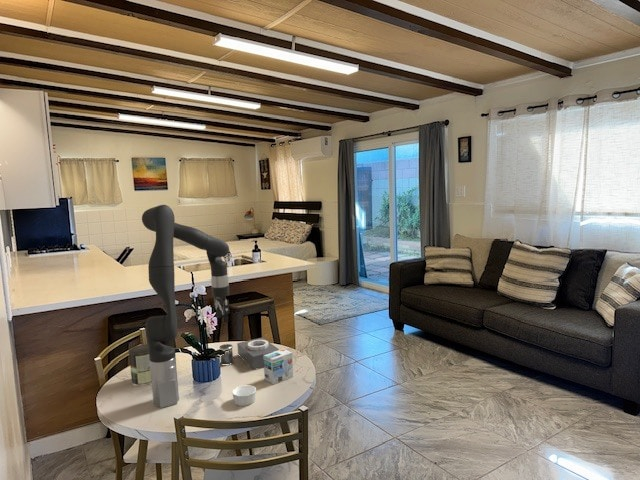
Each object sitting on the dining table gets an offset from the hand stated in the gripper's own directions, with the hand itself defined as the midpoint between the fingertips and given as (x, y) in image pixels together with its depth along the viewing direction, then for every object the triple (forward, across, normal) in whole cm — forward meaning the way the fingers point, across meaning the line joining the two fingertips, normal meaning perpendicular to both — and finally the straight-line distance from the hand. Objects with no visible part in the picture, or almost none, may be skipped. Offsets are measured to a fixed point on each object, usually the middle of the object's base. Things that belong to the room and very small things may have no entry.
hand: (222, 319), depth 196 cm
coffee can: (+21, +2, +34) cm, 40 cm away
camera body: (+20, -5, -14) cm, 26 cm away
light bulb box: (+20, -29, -13) cm, 38 cm away
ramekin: (+20, -39, +6) cm, 44 cm away
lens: (+21, -1, 0) cm, 21 cm away
